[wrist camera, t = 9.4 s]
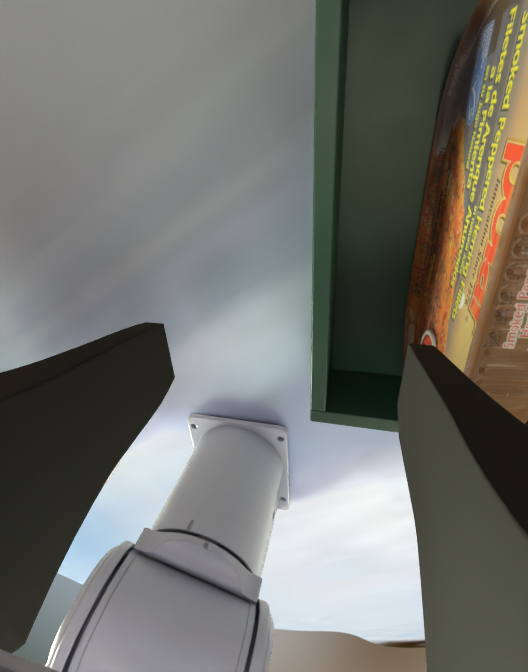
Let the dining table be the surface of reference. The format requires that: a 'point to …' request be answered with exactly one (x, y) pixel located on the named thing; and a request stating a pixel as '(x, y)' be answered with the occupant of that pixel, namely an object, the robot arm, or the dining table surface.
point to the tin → (479, 212)
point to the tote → (371, 191)
